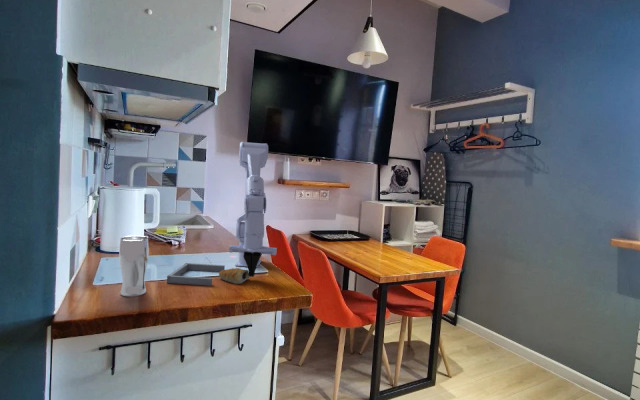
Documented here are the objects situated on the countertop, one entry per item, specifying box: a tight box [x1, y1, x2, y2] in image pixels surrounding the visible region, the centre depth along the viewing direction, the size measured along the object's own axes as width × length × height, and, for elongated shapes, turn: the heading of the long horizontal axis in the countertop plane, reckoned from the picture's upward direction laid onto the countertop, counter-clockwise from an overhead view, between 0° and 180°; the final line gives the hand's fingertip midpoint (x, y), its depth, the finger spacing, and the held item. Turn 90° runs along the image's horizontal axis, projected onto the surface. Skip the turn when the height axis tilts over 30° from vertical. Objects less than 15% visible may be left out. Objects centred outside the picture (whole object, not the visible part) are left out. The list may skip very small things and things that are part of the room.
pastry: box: [218, 267, 250, 285], centre depth 114 cm, size 9×7×4 cm
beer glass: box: [118, 235, 150, 298], centre depth 97 cm, size 7×7×15 cm
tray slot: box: [166, 262, 226, 287], centre depth 115 cm, size 15×13×2 cm
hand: (251, 275), depth 115 cm, fingers closed
